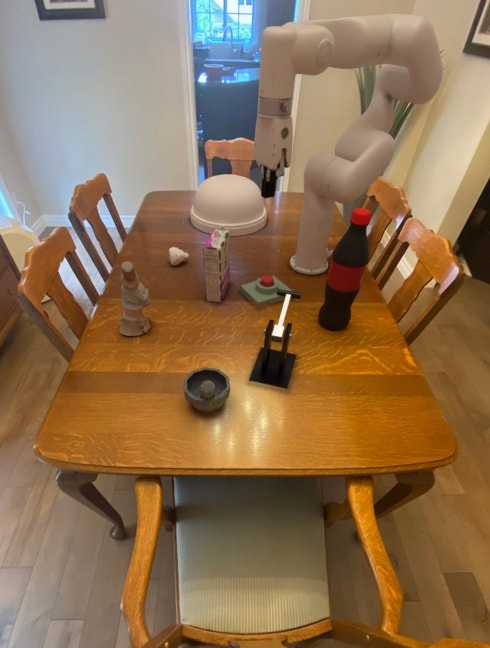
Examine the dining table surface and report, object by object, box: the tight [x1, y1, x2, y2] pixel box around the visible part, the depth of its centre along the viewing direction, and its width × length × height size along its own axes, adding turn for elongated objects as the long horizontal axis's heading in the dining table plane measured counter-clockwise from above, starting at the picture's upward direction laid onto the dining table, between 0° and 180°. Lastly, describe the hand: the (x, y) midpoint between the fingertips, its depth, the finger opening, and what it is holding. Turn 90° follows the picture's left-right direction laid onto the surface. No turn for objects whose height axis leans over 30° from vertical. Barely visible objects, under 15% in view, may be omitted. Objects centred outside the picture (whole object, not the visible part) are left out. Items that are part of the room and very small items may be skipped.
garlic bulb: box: [168, 246, 190, 267], centre depth 118 cm, size 6×6×5 cm
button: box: [260, 275, 274, 287], centre depth 105 cm, size 4×4×2 cm
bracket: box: [248, 319, 298, 390], centre depth 83 cm, size 12×9×13 cm
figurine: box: [118, 260, 152, 337], centre depth 90 cm, size 9×8×20 cm
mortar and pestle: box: [183, 366, 231, 414], centre depth 75 cm, size 11×9×12 cm
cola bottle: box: [317, 207, 372, 332], centre depth 88 cm, size 8×8×30 cm
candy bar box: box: [202, 229, 231, 304], centre depth 103 cm, size 11×5×16 cm, turn 168°
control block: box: [239, 275, 293, 307], centre depth 107 cm, size 12×10×4 cm
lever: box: [272, 289, 303, 344], centre depth 81 cm, size 13×6×2 cm, turn 164°
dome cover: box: [190, 173, 268, 237], centre depth 138 cm, size 32×30×14 cm
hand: (267, 196), depth 94 cm, fingers closed
